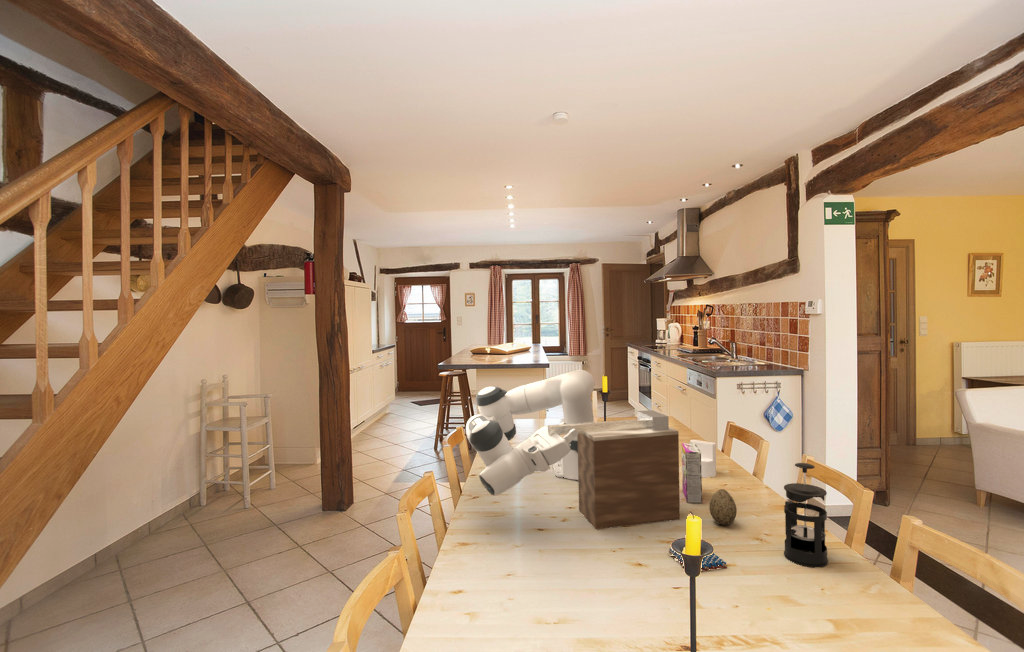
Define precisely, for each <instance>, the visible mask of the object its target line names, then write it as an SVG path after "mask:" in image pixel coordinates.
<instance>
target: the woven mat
mask: <svg viewBox="0 0 1024 652" xmlns="http://www.w3.org/2000/svg"><path fill="white" fill-rule="evenodd" d="M670 553H671V554H670ZM668 554H670V555H672V554H673V555H674V556H675V557H677V558H676V559H678V561H677V563H678V562H679V561H680V564H679V565H680V566H681V564H682V566H681V567H682V568H683V560H682V557H681V555H679V554H677V553H676V552H674V550H673V551H672V548H669V550H668ZM670 555H669V556H670ZM675 557H674V558H675ZM681 562H682V563H681ZM718 565H719V566H718ZM717 568H722V569H727V568H728V565H727V562H726V561H725V560H724V559H723V558H720V556H718V555H717V554H716V553H714V552H713V554H712V555H709V556H706V557H704V558H703V561H702V568H701V569H702V571H701V572H707V571H710V570H709V569H715V570H718V569H717Z"/></svg>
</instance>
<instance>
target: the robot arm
mask: <svg viewBox="0 0 1024 652" xmlns="http://www.w3.org/2000/svg"><path fill="white" fill-rule="evenodd" d="M594 389H595V380H594V377H593V375H592V374H591V373H590V372H589V371H587V370H584V369H575V370H572V371H568V372H565V373H562V374H558V375H555V376H553V377H549V378H545V379H543V380H537V381H534V382H531V383H527V384H522V385H520V386H517V387H514V388H512V389H511V390H508V391H507V390H506V389H503V388H501V387H499V386H496V385H493V386H492V385H491V386H487V387H484V388H482V389H481V390H479V391H478V392H477V393H476V395H475V403H476V406H477V408H478V411H479V414H475V415H473V416H471V417H469V418H468V420H467V422H466V425H465V433H466V437H467V440H468V441H469V444H470V445H471V446H472V448H473V449H474V450H475V451H476V452H477V454H478V456H479V457H480V459H481V460H482V462H483V463H484V465H485V468H484V469H483V470H482V471H481V472H480V473H479V475H478V477H479V480H480V483H481V484H482V486H483V487H484V489H486V491H487V492H488V493H489V494H490V495H492V496H498V495H501V494H502V493H505V492H507V491H509V490H510V489H512V488H514V486H516V485H518V484H519V483H521V481H522V480H523V479H524V478H526V477H528V476H530V475H532V474H533V473H535V472H543V473H545V472H548V471H549V470H550V468H551V467H550V466H552V465H553V466H552V469H553V468H554V469H553V472H554V475H556V476H557V477H556V476H555V477H556V478H563V477H564V478H565V479H568V480H577V481H578V438H577V435H578V432H577V430H576V429H572V430H570V431H569V433H568V434H563V436H562V435H559V434H557V433H554V434H553V435H549V434H548V425H544V426H542V427H539V428H538V429H537V430H536V431H535V432H533V433H532V434H531V435H530V436H529V437H528V438H526V439H525V440H523V441H521V442H520V443H519V444H517V445H516V446H514V447H513V445H512V444H511V443H510V441H511V440H512V439H513V438H515V436H516V434H517V429H516V428H517V427H516V424H515V423H514V418H513V416H519V415H520V416H521V415H527V414H531V413H536V412H540V411H545V410H550V409H552V408H556V407H558V406H562V412H563V421H562V422H560V423H559V424H558V425H561V424H575V423H589V422H595V421H594V412H593V406H592V405H593V403H592V394H593V392H594ZM564 478H563V479H564Z"/></svg>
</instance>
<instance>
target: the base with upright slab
mask: <svg viewBox="0 0 1024 652" xmlns="http://www.w3.org/2000/svg"><path fill="white" fill-rule="evenodd" d="M689 443H693V444H696V445H697V447H698V449H699V450H700V452H701V474H702V477H703V478H702V479H708V478H707V477H712V478H715V477H717V445H716V442H710V441H705V440H699V439H690V441H689ZM714 476H715V477H714Z"/></svg>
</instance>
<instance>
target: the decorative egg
mask: <svg viewBox="0 0 1024 652" xmlns="http://www.w3.org/2000/svg"><path fill="white" fill-rule="evenodd" d="M737 512H738V511H737V505H736V502H735V500H734V499H733V496H732V494H730V493H729V491H727V490H726V489H724V488H722V489H721V488H719V489H718V490H717V491H716V492H715V493H714V494H713V495H712V497H711V499H710V502H709V513H710V515H711V518H712V519H713V520H714V522H716V523H717V524H719V525H722V526H728V525H730V524H732V523H733V522H734V521H735V519H736V517H737Z"/></svg>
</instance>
